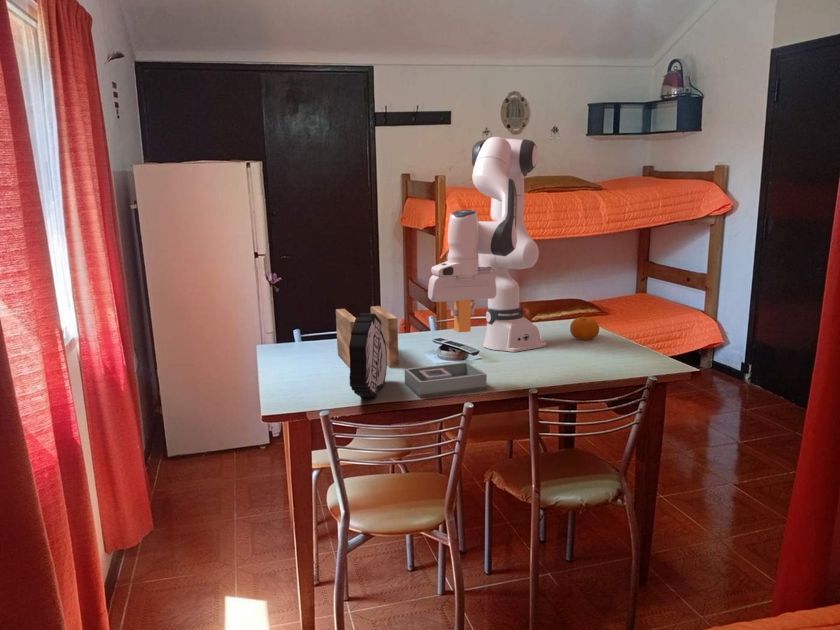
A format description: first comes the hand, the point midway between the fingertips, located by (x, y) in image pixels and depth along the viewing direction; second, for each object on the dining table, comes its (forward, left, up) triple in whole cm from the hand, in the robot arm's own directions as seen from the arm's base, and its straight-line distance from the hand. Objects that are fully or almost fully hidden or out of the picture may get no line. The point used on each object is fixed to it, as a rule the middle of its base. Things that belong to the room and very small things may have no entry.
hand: (462, 315), depth 193 cm
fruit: (-62, -33, -21) cm, 73 cm away
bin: (+6, +1, -20) cm, 21 cm away
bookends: (+20, -35, -20) cm, 45 cm away
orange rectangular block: (0, 0, -5) cm, 5 cm away
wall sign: (+28, 0, -21) cm, 35 cm away
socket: (+9, +1, -20) cm, 22 cm away
